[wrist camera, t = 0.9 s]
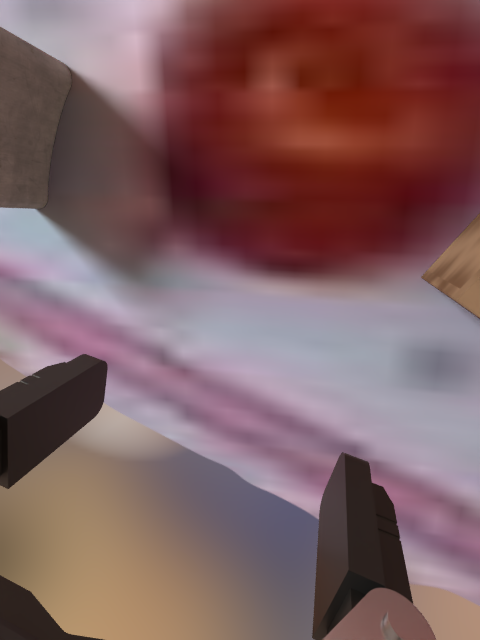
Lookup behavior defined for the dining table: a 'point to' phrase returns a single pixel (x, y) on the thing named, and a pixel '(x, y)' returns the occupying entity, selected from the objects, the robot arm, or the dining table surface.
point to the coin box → (460, 269)
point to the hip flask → (28, 120)
